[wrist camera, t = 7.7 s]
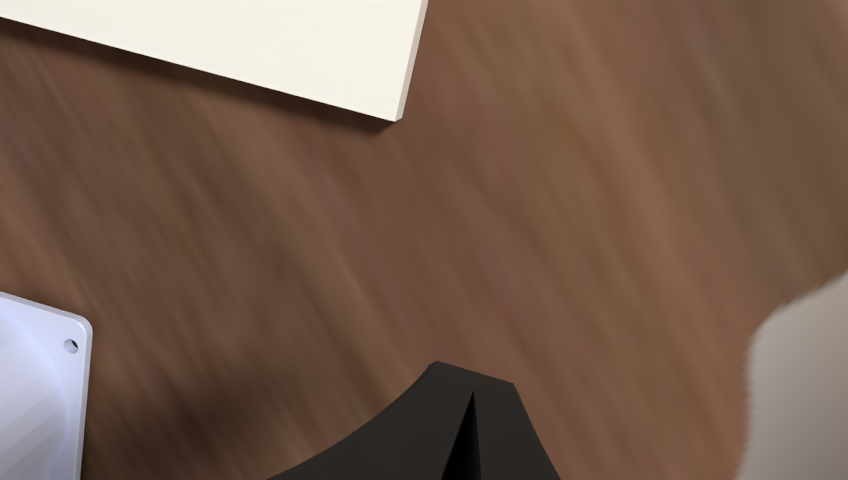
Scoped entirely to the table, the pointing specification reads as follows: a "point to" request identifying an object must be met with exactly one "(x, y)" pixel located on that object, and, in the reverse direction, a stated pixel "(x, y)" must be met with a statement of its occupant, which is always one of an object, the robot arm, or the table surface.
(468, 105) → the table surface
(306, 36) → the cable board
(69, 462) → the robot arm
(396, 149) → the table surface
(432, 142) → the table surface
